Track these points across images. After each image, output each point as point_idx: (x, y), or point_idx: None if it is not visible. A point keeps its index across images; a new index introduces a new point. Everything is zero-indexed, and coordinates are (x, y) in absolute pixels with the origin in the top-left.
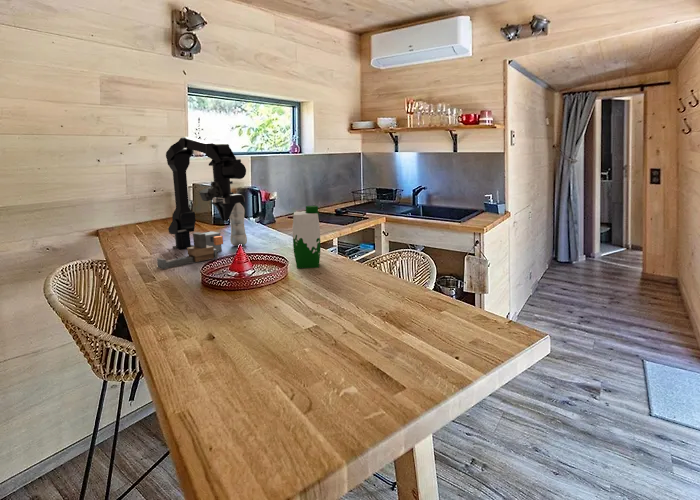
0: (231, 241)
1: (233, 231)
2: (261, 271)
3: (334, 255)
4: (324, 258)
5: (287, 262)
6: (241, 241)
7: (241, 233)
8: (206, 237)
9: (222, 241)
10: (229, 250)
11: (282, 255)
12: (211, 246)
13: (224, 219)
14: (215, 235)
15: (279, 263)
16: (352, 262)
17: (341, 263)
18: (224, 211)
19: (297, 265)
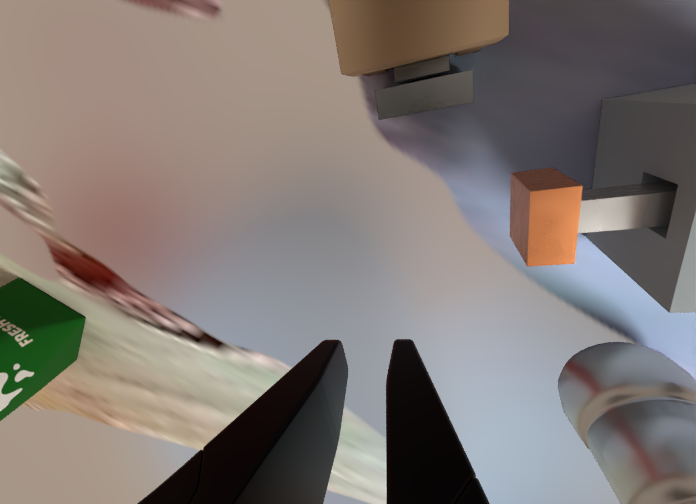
0: (644, 354)
1: (665, 429)
2: (5, 162)
3: (148, 433)
4: (123, 399)
5: (114, 306)
6: (564, 384)
7: (594, 439)
8: (693, 133)
9: (516, 241)
10: (536, 270)
11: (231, 357)
12: (360, 61)
13: (329, 355)
14: (670, 250)
15: (110, 279)
16: (53, 405)
17: (50, 385)
18: (164, 486)
19: (6, 284)
